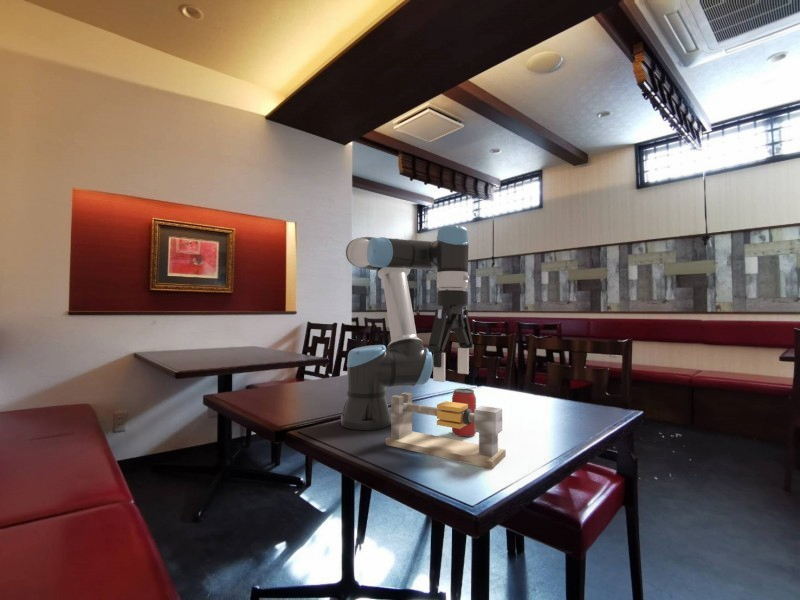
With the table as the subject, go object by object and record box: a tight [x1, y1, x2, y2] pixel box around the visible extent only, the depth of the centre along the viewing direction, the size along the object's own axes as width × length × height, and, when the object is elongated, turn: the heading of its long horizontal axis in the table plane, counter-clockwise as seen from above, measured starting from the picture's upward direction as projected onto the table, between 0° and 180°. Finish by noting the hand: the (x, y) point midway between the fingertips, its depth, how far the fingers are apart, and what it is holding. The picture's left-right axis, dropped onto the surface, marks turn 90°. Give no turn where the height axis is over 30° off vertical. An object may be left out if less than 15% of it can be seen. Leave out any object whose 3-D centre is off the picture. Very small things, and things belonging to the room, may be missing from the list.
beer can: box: [451, 388, 477, 438], centre depth 107 cm, size 7×7×12 cm
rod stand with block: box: [385, 392, 507, 470], centre depth 94 cm, size 28×9×12 cm, turn 57°
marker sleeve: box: [436, 400, 468, 429], centre depth 93 cm, size 6×5×5 cm
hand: (451, 377), depth 93 cm, fingers open, 13 cm apart
